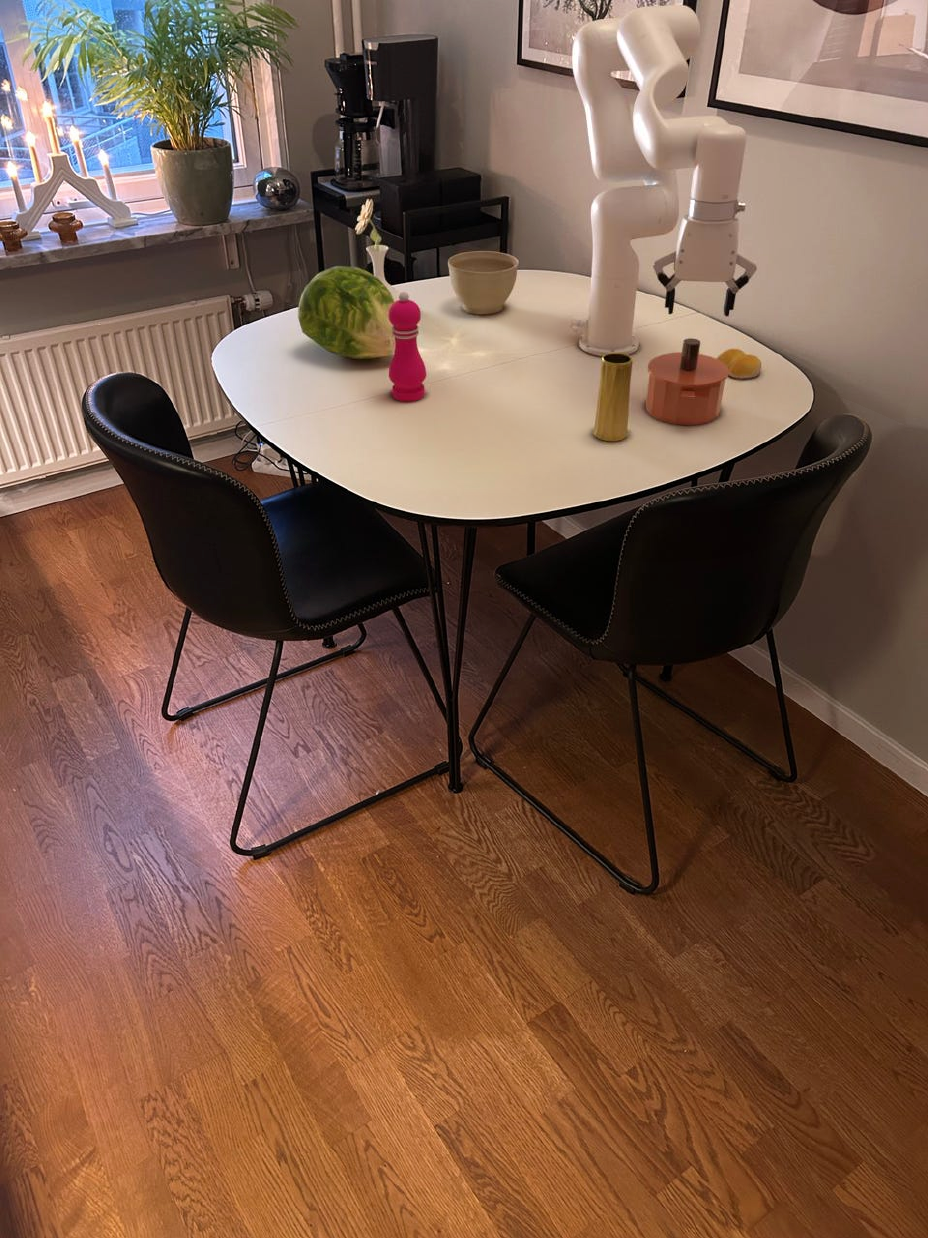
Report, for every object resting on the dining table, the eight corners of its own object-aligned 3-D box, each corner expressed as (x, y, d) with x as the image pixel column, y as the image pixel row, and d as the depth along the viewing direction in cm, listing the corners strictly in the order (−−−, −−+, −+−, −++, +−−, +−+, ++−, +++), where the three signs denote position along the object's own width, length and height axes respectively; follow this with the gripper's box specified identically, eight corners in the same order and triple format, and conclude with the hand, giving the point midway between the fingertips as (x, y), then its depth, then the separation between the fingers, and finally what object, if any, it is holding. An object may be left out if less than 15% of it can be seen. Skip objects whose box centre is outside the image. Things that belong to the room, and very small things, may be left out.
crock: (645, 429, 169) (649, 390, 164) (646, 385, 184) (650, 349, 179) (721, 433, 167) (728, 394, 162) (716, 389, 182) (722, 352, 177)
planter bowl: (518, 320, 212) (519, 271, 206) (448, 320, 213) (447, 272, 206) (516, 296, 225) (517, 249, 218) (449, 296, 225) (448, 250, 219)
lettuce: (366, 346, 180) (415, 270, 183) (271, 304, 187) (320, 232, 190) (389, 394, 197) (434, 324, 200) (302, 354, 204) (347, 287, 207)
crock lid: (646, 388, 166) (650, 354, 163) (647, 356, 178) (651, 324, 174) (730, 393, 164) (736, 359, 161) (725, 360, 176) (731, 328, 172)
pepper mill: (432, 389, 183) (429, 287, 171) (419, 404, 178) (414, 300, 166) (398, 385, 185) (392, 283, 173) (384, 399, 180) (377, 296, 168)
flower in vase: (363, 299, 225) (354, 188, 209) (409, 300, 223) (404, 189, 208) (350, 318, 215) (340, 203, 199) (399, 320, 213) (392, 204, 198)
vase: (605, 444, 164) (612, 367, 155) (586, 430, 169) (592, 355, 160) (634, 437, 166) (642, 360, 158) (614, 423, 171) (621, 348, 162)
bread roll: (744, 383, 184) (748, 364, 181) (708, 369, 189) (711, 351, 187) (769, 372, 188) (773, 352, 186) (732, 359, 193) (736, 340, 191)
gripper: (764, 205, 155) (746, 307, 165) (658, 202, 158) (648, 303, 168) (768, 216, 149) (750, 322, 160) (659, 214, 152) (648, 318, 162)
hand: (698, 312), depth 164 cm, fingers open, 9 cm apart
